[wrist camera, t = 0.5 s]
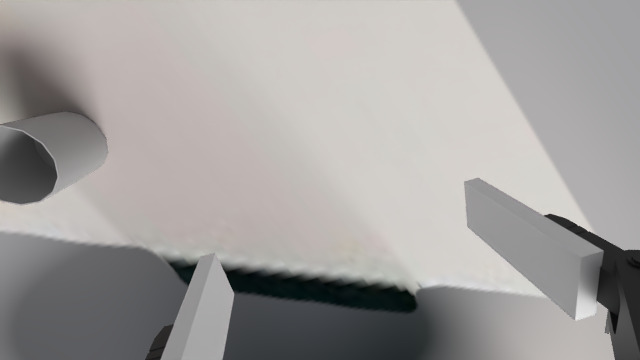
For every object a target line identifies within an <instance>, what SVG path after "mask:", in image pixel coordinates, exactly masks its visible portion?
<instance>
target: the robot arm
mask: <svg viewBox="0 0 640 360" xmlns="http://www.w3.org/2000/svg"><path fill="white" fill-rule="evenodd" d="M464 186H465V199H466V213H467V226H468V228H469V229H471V230H472V231H473V232H474V233H475V234H476V235H477V236H479V237H480V238H481V239H482V240H483V241H484V242H485V243H487V244H488V245H489V246H490V247H491V248H492V249H493V250H495V251H496V252H497V253H498V254H499V255H500V256H501V257H503V258H504V259H505V260H506V261H507V262H508V263H509V264H511V265H512V266H513V267H514V268H515V269H516V270H517V271H519V272H520V273H521V274H522V275H523V276H524V277H526V278H527V279H528V280H529V281H530V282H531V283H532V284H534V285H535V286H536V287H537V288H538V289H539V290H540V291H542V292H543V293H544V294H545V295H546V296H547V297H548V298H550V299H551V300H552V301H553V302H554V303H555V304H556V305H558V306H559V307H560V308H561V309H562V310H563V311H564V312H566V313H567V314H568V315H569V316H570V317H572V319H574V320H575V321H576V320H579V319H583V318H586V317H589V316H592V315H596V308H597V301H598V302H599V303H601V304H602V305H603V306H605V307H606V308H607V309H608V314H607V320H606V328H605V333H607V334H609V332H610V335H611V341H612V346H613V351H614V357H615V360H640V250H625V251H624V250H622V249H620V248H619V247H617V246H615V245H613V244H611V243H609V242H608V241H606V240H604V239H602V238H601V237H599V236H597V235H595V234H593V233H591V232H590V231H589V232H588V231H587V230H586V229H584V228H582V227H580V226H577V224H575V223H573V222H571V221H569V220H568V219H566V218H563V217H559V216H556V215H553V214H548V215H544V216H543V215H541V214H540V213H538V212H536V211H535V210H533V209H531V208H529V207H528V206H526V205H524V204H523V203H521V202H519V201H517V200H516V199H514V198H512V197H511V196H509V195H507V194H505V193H504V192H502V191H500V190H499V189H497V188H495V187H493V186H492V185H490V184H488V183H486V182H485V181H483V180H481V179H480V178H476V179H472V180H469V181H465V182H464ZM233 298H234V293H233V291H232V288H231V286H230V284H229V282H228V280H227V277H226V275H225V273H224V271H223V268H222V266H221V264H220V262H219V260H218V257H217V255H216V253H212V254H209V255H205V256H202V257H200V259H199V262H198V264H197V267H196V270H195V272H194V275H193V277H192V280H191V282H190V285H189V288H188V290H187V293H186V295H185V298H184V301H183V303H182V306H181V308H180V311H179V313H178V316H177V319H176V321H175V324H172V325H169V326H165V327H164V328H163V329H162V330H161V331H160V333H159V334H158V335H157V336H156V338H155V339H154V341H153V344H152V346H151V348H150V350H149V351H150V352H149V353H148V355H147V357H146V359H145V360H222V359H223V353H224V348H225V342H226V337H227V331H228V326H229V320H230V315H231V309H232V304H233Z"/></svg>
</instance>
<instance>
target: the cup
mask: <svg viewBox="0 0 640 360" xmlns="http://www.w3.org/2000/svg"><path fill="white" fill-rule="evenodd" d="M107 154H108V147H107V141H106V137H105V136H104V134H103V133H102V131H101V130H100V129H99V127H98V126H97V125H96V124H95V123H93V122H92V121H91V120H89V119H88V118H86V117H85V116H83V115H80V114H76V113H72V112H68V111H64V112H58V113H52V114H47V115H42V116H37V117H33V118H28V119H23V120H18V121H13V122H9V123H4V124H0V201H1V202H6V203H12V204H17V205H28V204H33V203H39V202H42V201H44V200H45V199H47V198H49V197H51V196H52V195H54V194H56V193H57V192H59V191H61V190H63V189H64V188H66V187H68V186H70V185H71V184H73V183H75V182H77V181H78V180H80V179H82V178H84V177H85V176H87V175H89V174H91V173H92V172H94V171H95V170H97V169H98V168H99V167H101V166H102V165H103V164H104V162H105V159H106V157H107Z"/></svg>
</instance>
